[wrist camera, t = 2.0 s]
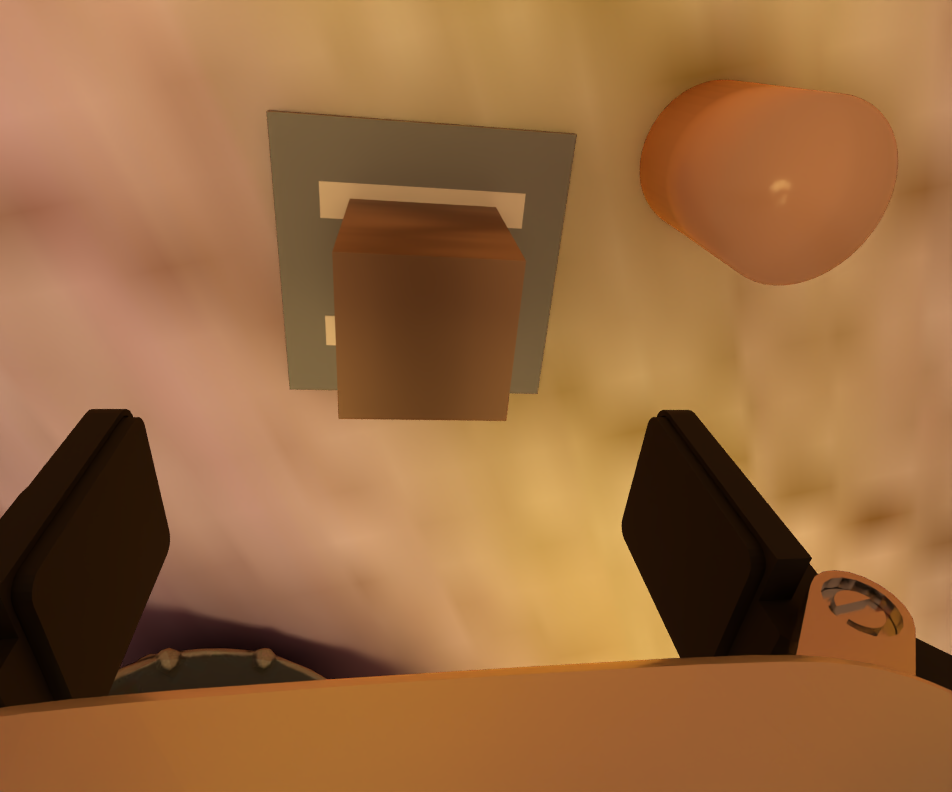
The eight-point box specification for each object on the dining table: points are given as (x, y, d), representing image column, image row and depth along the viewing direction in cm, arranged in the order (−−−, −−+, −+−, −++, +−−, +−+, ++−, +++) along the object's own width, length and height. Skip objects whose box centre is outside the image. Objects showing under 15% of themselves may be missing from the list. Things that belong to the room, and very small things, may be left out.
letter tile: (574, 133, 20) (577, 135, 20) (536, 390, 25) (537, 394, 25) (268, 110, 19) (266, 111, 19) (291, 385, 24) (289, 389, 24)
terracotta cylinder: (798, 85, 21) (930, 101, 15) (752, 233, 23) (853, 288, 18) (657, 73, 20) (747, 84, 15) (626, 225, 22) (693, 281, 17)
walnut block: (495, 206, 21) (526, 260, 16) (483, 337, 24) (506, 420, 18) (349, 198, 20) (331, 251, 15) (353, 333, 23) (338, 418, 18)
